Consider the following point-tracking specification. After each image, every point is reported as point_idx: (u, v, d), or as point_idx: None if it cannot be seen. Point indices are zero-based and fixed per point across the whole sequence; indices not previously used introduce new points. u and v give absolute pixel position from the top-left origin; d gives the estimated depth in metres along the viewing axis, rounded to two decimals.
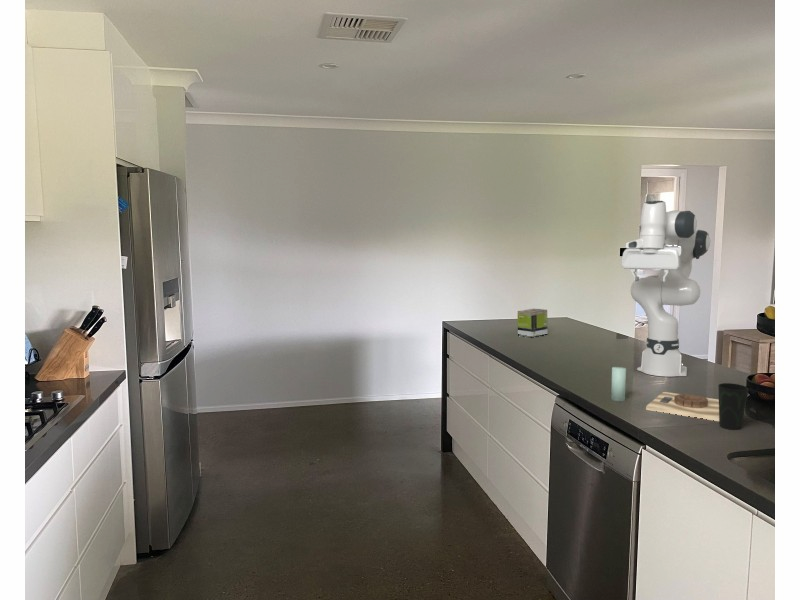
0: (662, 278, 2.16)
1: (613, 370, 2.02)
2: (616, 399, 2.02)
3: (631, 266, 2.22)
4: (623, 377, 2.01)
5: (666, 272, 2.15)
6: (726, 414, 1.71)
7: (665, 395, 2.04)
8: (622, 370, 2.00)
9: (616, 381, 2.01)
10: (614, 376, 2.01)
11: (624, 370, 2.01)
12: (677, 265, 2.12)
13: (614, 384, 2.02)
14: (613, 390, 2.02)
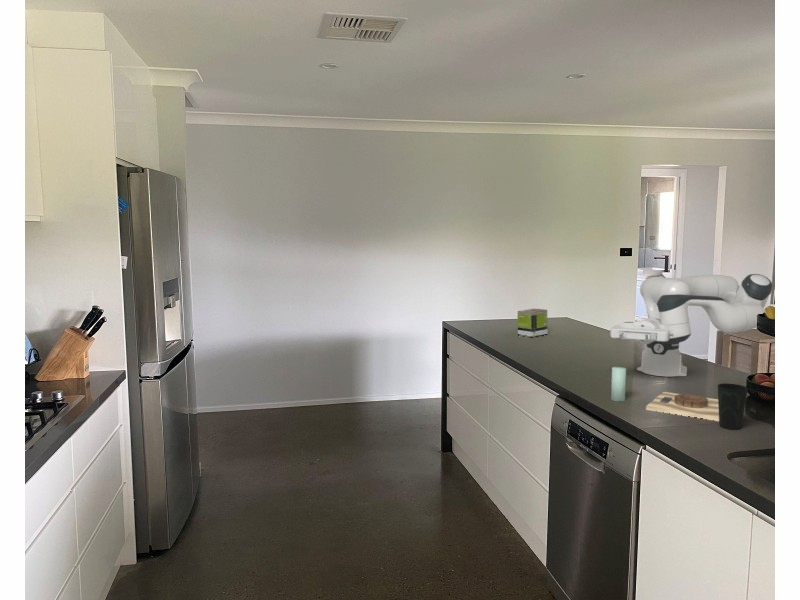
0: (648, 334, 2.08)
1: (613, 370, 2.02)
2: (616, 399, 2.02)
3: (620, 328, 2.18)
4: (623, 377, 2.01)
5: (654, 333, 2.09)
6: (725, 414, 1.72)
7: (665, 395, 2.04)
8: (622, 370, 2.00)
9: (616, 381, 2.01)
10: (614, 376, 2.01)
11: (624, 370, 2.01)
12: (667, 331, 2.09)
13: (614, 384, 2.02)
14: (613, 390, 2.02)
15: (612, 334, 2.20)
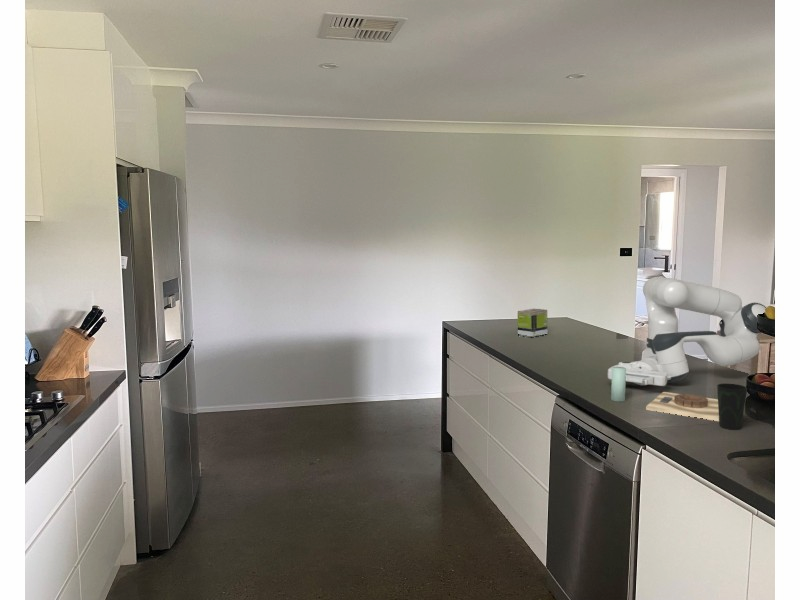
0: (645, 379, 2.07)
1: (613, 370, 2.02)
2: (616, 399, 2.02)
3: None
4: (623, 377, 2.01)
5: (651, 377, 2.08)
6: (725, 414, 1.72)
7: (665, 395, 2.04)
8: (622, 370, 2.00)
9: (616, 381, 2.01)
10: (614, 376, 2.01)
11: (624, 370, 2.01)
12: (664, 375, 2.08)
13: (614, 384, 2.02)
14: (613, 390, 2.02)
15: (609, 375, 2.19)
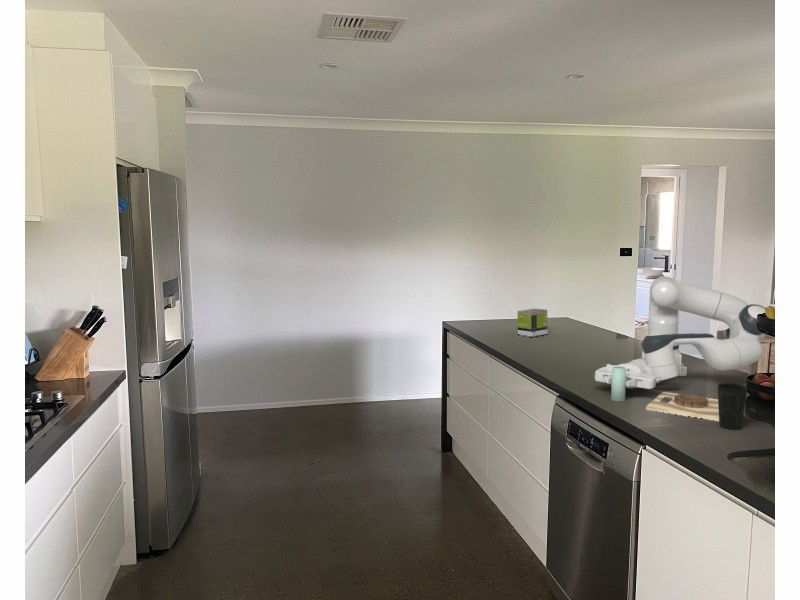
0: (627, 380, 2.01)
1: (613, 370, 2.02)
2: (616, 399, 2.02)
3: (605, 372, 2.10)
4: (623, 377, 2.01)
5: (633, 379, 2.02)
6: (725, 415, 1.72)
7: (665, 395, 2.04)
8: (622, 370, 2.00)
9: (616, 381, 2.01)
10: (614, 376, 2.01)
11: (624, 370, 2.01)
12: (652, 378, 2.01)
13: (614, 384, 2.02)
14: (613, 390, 2.02)
15: (596, 377, 2.12)
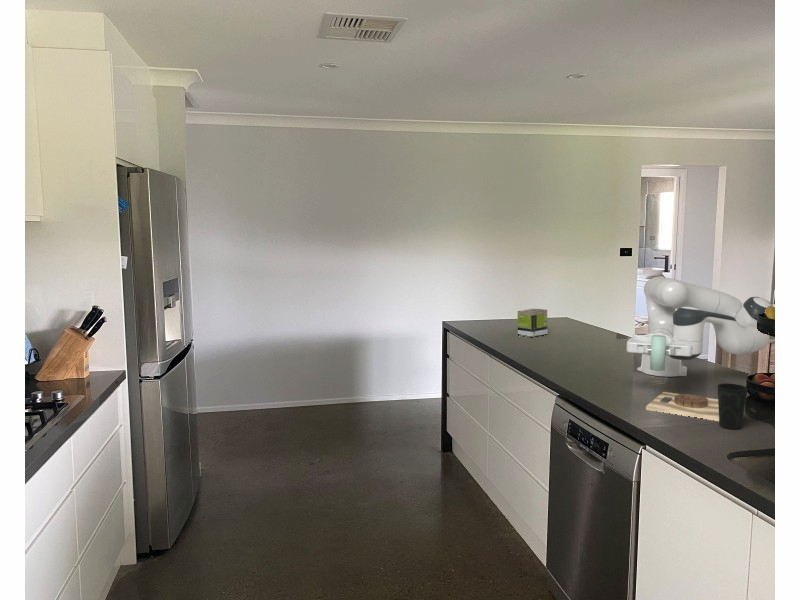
0: (668, 349, 1.94)
1: (654, 339, 1.94)
2: (658, 368, 1.94)
3: (638, 342, 2.02)
4: (664, 345, 1.93)
5: (672, 347, 1.96)
6: (725, 415, 1.72)
7: (665, 395, 2.04)
8: (664, 338, 1.93)
9: (658, 350, 1.93)
10: (656, 345, 1.93)
11: (665, 338, 1.93)
12: (690, 345, 1.96)
13: (655, 353, 1.94)
14: (654, 360, 1.94)
15: (629, 348, 2.02)
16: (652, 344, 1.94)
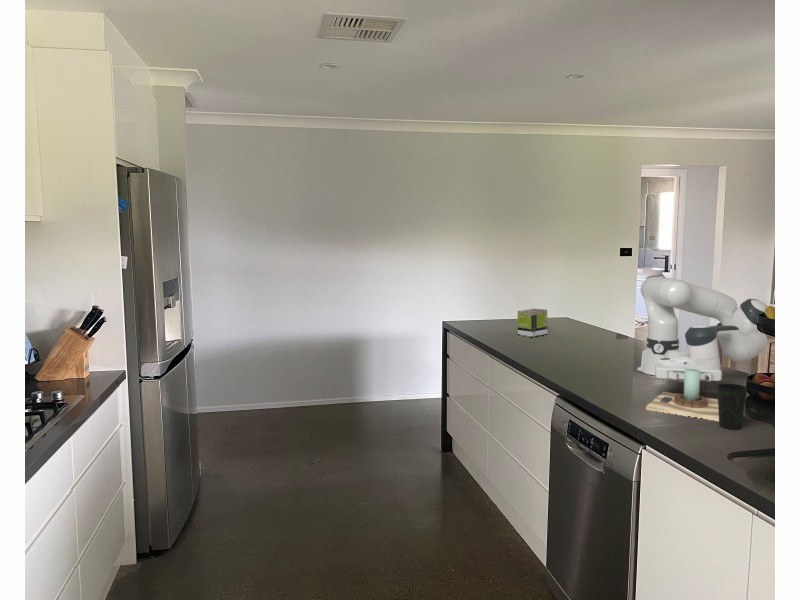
0: (707, 375, 1.92)
1: (689, 373, 1.91)
2: None
3: (668, 368, 1.98)
4: (699, 380, 1.91)
5: (709, 373, 1.94)
6: (725, 414, 1.72)
7: (665, 395, 2.04)
8: (699, 373, 1.90)
9: (693, 385, 1.90)
10: (691, 379, 1.90)
11: None
12: (720, 370, 1.95)
13: (690, 388, 1.91)
14: (689, 395, 1.91)
15: (659, 374, 1.98)
16: (687, 379, 1.92)
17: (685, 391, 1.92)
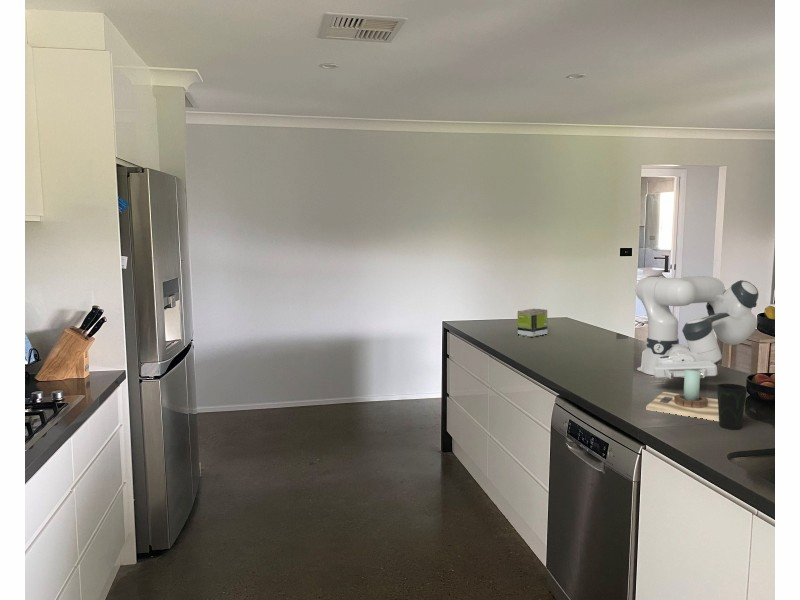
0: (701, 372, 2.03)
1: (689, 373, 1.91)
2: None
3: (665, 367, 2.11)
4: (699, 380, 1.91)
5: (704, 369, 2.05)
6: (725, 414, 1.72)
7: (665, 395, 2.04)
8: (699, 372, 1.91)
9: (693, 385, 1.91)
10: (691, 379, 1.91)
11: (699, 372, 1.91)
12: (715, 365, 2.06)
13: (690, 388, 1.91)
14: (689, 395, 1.91)
15: (657, 374, 2.11)
16: (687, 379, 1.92)
17: (685, 391, 1.93)
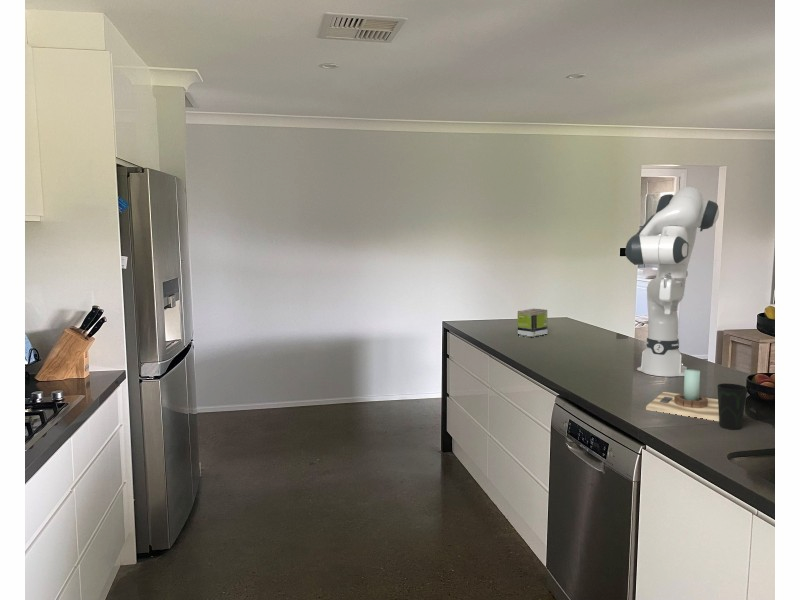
0: None
1: (689, 373, 1.91)
2: None
3: None
4: (699, 380, 1.91)
5: None
6: (725, 415, 1.72)
7: (665, 395, 2.04)
8: (699, 372, 1.91)
9: (693, 385, 1.91)
10: (691, 379, 1.91)
11: (699, 372, 1.91)
12: (659, 297, 2.00)
13: (690, 388, 1.91)
14: (689, 395, 1.91)
15: None
16: (687, 379, 1.92)
17: (685, 391, 1.93)
